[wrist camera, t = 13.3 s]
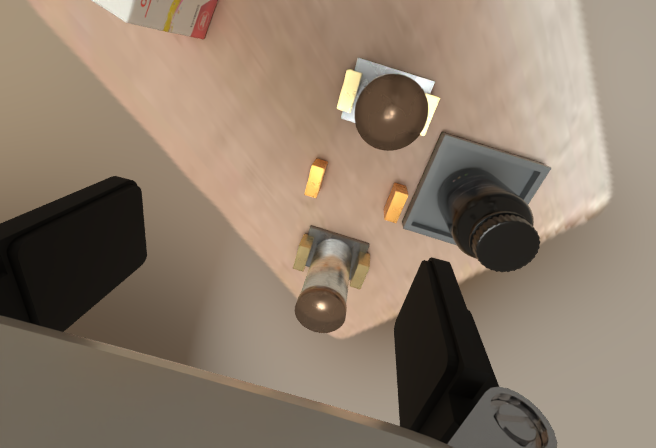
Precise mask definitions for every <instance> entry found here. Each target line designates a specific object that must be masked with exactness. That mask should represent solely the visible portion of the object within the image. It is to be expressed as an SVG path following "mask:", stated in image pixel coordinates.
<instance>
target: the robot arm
mask: <svg viewBox="0 0 656 448" xmlns="http://www.w3.org/2000/svg"><path fill="white" fill-rule="evenodd" d="M146 257H147V250H146V239H145V227H144V215H143V203H142V192H141V189H140V187H138V186H137V184H136V182H134V181H133V180H129V179H125V178H121V177H117V176H113V177H110V178H108V179H105V180H103V181H101V182H98V183H96V184H94V185H91V186H89V187H86V188H84V189H82V190H79V191H77V192H74V193H72V194H70V195H67V196H65V197H63V198H60V199H58V200H55V201H53V202H51V203H48V204H46V205H43V206H41V207H39V208H36V209H34V210H32V211H29V212H27V213H24V214H22V215H20V216H17V217H15V218H13V219H10V220H8V221H5V222H3V223H1V224H0V448H557V440H556V437H555V433H554V430H553V429H552V427H551V425H550V423H549V421H548V420H547V419H546V417H545V416H544V415H543V414H542V412H541V411H540V410H539V409H538V408H537V407H536V406H535V405H534V404H533V403H532V402H530V401H529V400H528V399H526V398H525V397H524V396H522V395H520V394H519V393H517V392H515V391H513V390H510V389H508V388H503V387H499V385H498V382H497V380H496V377H495V375H494V372H493V369H492V367H491V364H490V361H489V359H488V356H487V354H486V351H485V348H484V346H483V343H482V341H481V338H480V335H479V333H478V330H477V327H476V325H475V322H474V319H473V317H472V314H471V313H470V311H469V310H468V309H467V307H466V304H465V302H464V299H463V296H462V294H461V291H460V288H459V286H458V283H457V280H456V277H455V275H454V272H453V269H452V267H451V264H450V262H447V261H443V260H439V259H435V258H432V257H431V258H430V259H429V260H428V261H425V260H423V261H422V263H421V265H420V267H419V269H418V271H417V274H416V276H415V278H414V281H413V283H412V285H411V287H410V290H409V292H408V294H407V296H406V299H405V301H404V303H403V306H402V308H401V310H400V312H399V315H398V317H397V319H396V322H395V327H394V338H395V354H396V369H397V385H398V400H399V416H400V426H397V425H394V424H391V423H388V422H384V421H381V420H378V419H374V418H371V417H368V416H364V415H361V414H357V413H354V412H350V411H347V410H344V409H341V408H337V407H334V406H331V405H327V404H324V403H320V402H316V401H312V400H309V399H306V398H302V397H298V396H295V395H291V394H288V393H284V392H280V391H277V390H273V389H270V388H266V387H263V386H259V385H255V384H252V383H248V382H245V381H241V380H238V379H234V378H230V377H227V376H223V375H219V374H216V373H212V372H209V371H204V370H201V369H198V368H194V367H190V366H187V365H183V364H179V363H176V362H172V361H168V360H165V359H161V358H157V357H154V356H150V355H146V354H143V353H139V352H135V351H131V350H128V349H124V348H121V347H117V346H113V345H110V344H106V343H102V342H98V341H95V340H91V339H87V338H83V337H80V336H76V335H72V334H68V333H65V332H64V331H65V330H66V329H67V328H68V327H70V326H71V325H72V324H73V323H74V322H75V321H77V320H78V319H79V318H80V317H81V316H82V315H83V314H85V313H86V312H87V311H88V310H90V309H91V308H92V307H93V306H94V305H95V304H97V303H98V302H99V301H100V300H101V299H102V298H104V297H105V296H106V295H107V294H108V293H110V292H111V291H112V290H113V289H114V288H115V287H116V286H118V285H119V284H120V283H121V282H123V281H124V280H125V279H126V278H127V277H128V276H130V275H131V274H132V273H133V272H134V271H135V270H137V269H138V268H139V267H140V266H141V265H142V264H143V263H144V262H145V260H146Z"/></svg>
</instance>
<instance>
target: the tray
mask: <svg viewBox="0 0 656 448" xmlns="http://www.w3.org/2000/svg"><path fill="white" fill-rule="evenodd" d="M465 169H481V170H485V171H487V172H489V173H491V174H492V175H494V176H495V177H496V178H497V179H499V180H500V181H501V182H502V183H504V184H505V185H506V186H507V187H508V188H510V189H511V190H512V191H513V192H515V193H516V194H517V195H518V196H519V197H521V198H522V199H523V200H524V201H525V202H526V203H527V205H528V204H529V202H530V201H531V199H532V198H533V196H534V194H535V193H536V191H537V190H538V188H539V187H540V185H541V184H542V182H543V180H544V179H545V177H546V176H547V174H548V173H549V171H550V170H551V168H550V167H549V166H547V165H545V164H543V163H540V162H537V161H534V160H531V159H527V158H524V157H521V156H518V155H515V154H511V153H508V152H505V151H502V150H499V149H495V148H492V147H489V146H486V145H483V144H479V143H476V142H473V141H470V140H467V139H464V138H460V137H457V136H454V135H451V134H448V133H444V132H442V133H441V135H440V137H439V139H438V142H437V144H436V146H435V148H434V151H433V153H432V155H431V158H430V160H429V162H428V164H427V167H426V169H425V171H424V173H423V176H422V178H421V180H420V182H419V185H418V187H417V189H416V191H415V194H414V196H413V198H412V201H411V203H410V205H409V207H408V210H407V212H406V214H405V216H404V219H403V221H402V225H403V229H406V230H410V231H413V232H416V233H419V234H422V235H426V236H429V237H432V238H435V239H438V240H442V241H445V242H448V243H451V244H454V245H456V243H455V241H454V239H453V237H452V235H451V233H450V231H449V229H448V227H447V225H446V223H445V221H444V219H443V217H442V215H441V212H440V210H439V207H438V194H439V191H440V188H441V186H442V185H443V183H444V182H445V181H446V180H447V179H448V178H449V177H450V176H452V175H453V174H455V173H457V172H459V171H462V170H465Z"/></svg>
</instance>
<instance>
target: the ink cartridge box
mask: <svg viewBox="0 0 656 448" xmlns="http://www.w3.org/2000/svg"><path fill="white" fill-rule="evenodd" d="M92 1H93V2H95V3H96V4H98V5H99V6H101V7H103V8H104V9H106V10H107V11H109V12H111V13H112V14H114V15H115V16H117V17H118V18H120V19H122V20H123V21H124V22H126V23H130V24H134V25H139V26H143V27H147V28H152V29H156V30H161V31H166V32H171V33H175V34H180V35H185V36H190V37H195V38H200V39H204V38H205V35H206V32H207V29H208V26H209V23H210V21H211V18H212V15H213V12H214V9H215V7H216V4H217V1H218V0H92Z"/></svg>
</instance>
